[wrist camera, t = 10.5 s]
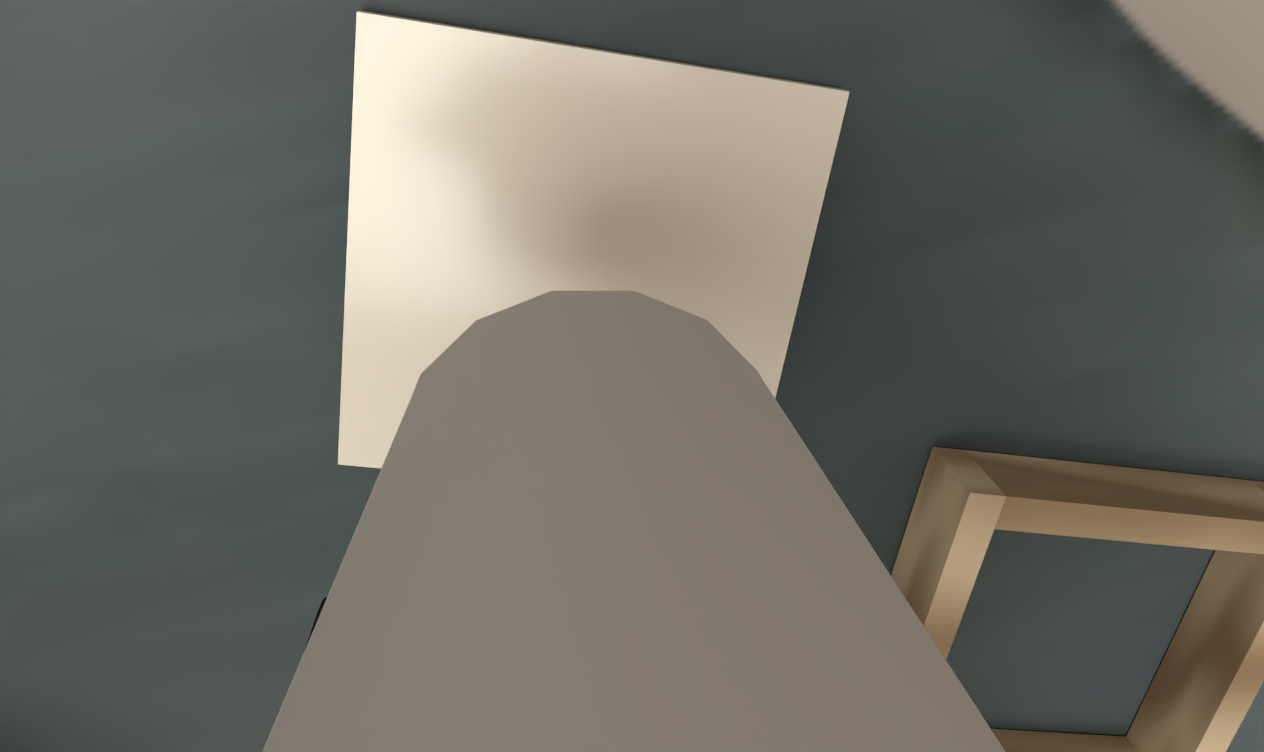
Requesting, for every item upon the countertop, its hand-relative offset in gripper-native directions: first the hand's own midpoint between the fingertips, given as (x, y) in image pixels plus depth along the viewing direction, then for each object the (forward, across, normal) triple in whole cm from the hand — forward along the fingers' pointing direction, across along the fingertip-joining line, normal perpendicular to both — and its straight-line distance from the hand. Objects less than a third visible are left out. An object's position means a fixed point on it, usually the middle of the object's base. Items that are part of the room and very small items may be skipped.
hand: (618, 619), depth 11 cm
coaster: (+13, 0, 0) cm, 13 cm away
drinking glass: (+4, 0, 0) cm, 4 cm away
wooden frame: (+13, -16, +9) cm, 23 cm away
